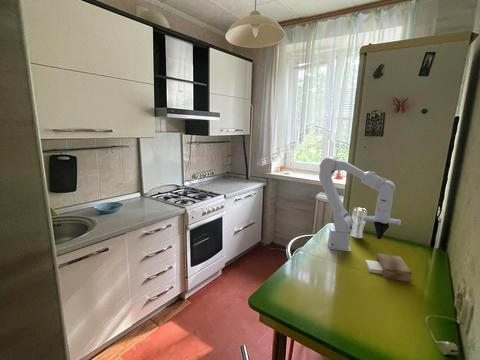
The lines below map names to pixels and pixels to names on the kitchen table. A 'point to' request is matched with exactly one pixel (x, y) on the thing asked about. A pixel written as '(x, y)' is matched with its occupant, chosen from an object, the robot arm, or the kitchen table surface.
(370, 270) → the tile
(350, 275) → the kitchen table surface
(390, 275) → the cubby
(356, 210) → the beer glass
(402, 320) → the kitchen table surface
